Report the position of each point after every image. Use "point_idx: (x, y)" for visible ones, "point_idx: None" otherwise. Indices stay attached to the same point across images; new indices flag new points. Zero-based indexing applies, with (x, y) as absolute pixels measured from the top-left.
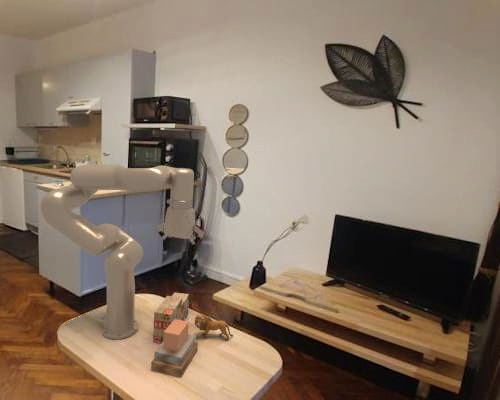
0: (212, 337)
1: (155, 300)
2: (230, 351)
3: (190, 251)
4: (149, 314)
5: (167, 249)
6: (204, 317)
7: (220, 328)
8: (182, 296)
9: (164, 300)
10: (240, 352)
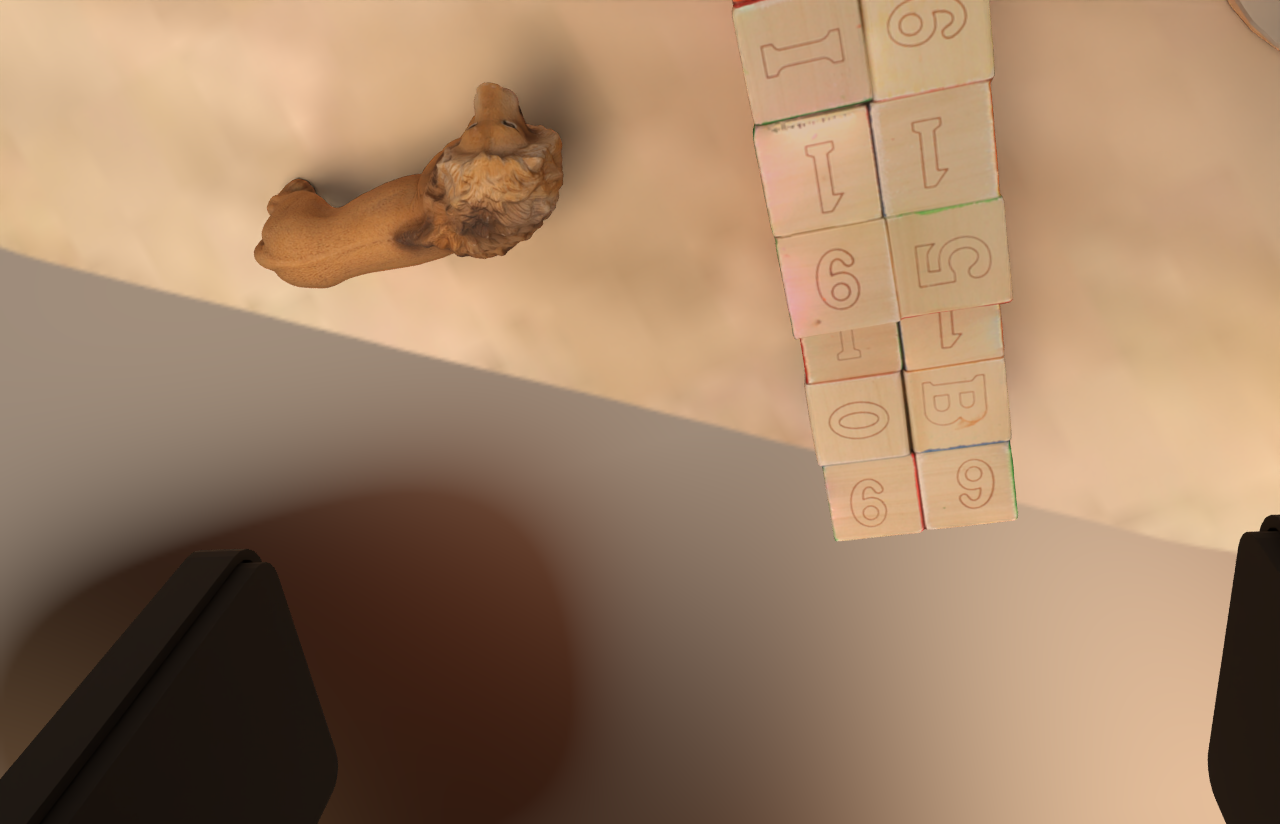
0: None
1: None
2: (188, 47)
3: (166, 626)
4: (1214, 273)
5: (1224, 656)
6: (449, 199)
7: (314, 203)
8: (881, 472)
9: (985, 170)
10: (111, 73)
